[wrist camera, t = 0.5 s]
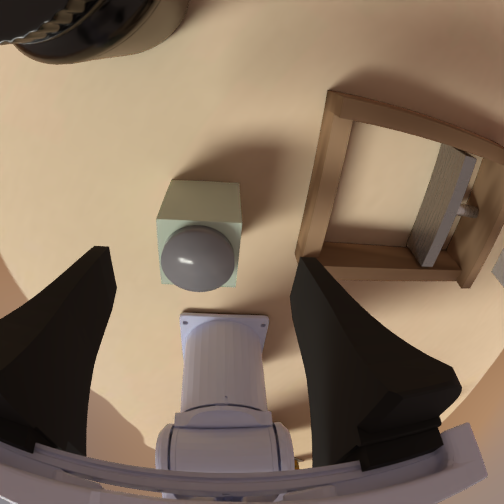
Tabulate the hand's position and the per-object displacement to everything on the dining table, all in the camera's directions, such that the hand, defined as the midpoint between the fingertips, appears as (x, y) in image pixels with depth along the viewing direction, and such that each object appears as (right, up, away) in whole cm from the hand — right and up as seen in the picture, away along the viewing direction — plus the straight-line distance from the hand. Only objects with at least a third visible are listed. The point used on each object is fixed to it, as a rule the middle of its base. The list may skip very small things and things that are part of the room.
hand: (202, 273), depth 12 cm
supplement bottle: (-5, +15, +1) cm, 16 cm away
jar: (-1, +4, +10) cm, 11 cm away
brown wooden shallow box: (+14, +5, +10) cm, 18 cm away
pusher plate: (+18, +5, +10) cm, 21 cm away
